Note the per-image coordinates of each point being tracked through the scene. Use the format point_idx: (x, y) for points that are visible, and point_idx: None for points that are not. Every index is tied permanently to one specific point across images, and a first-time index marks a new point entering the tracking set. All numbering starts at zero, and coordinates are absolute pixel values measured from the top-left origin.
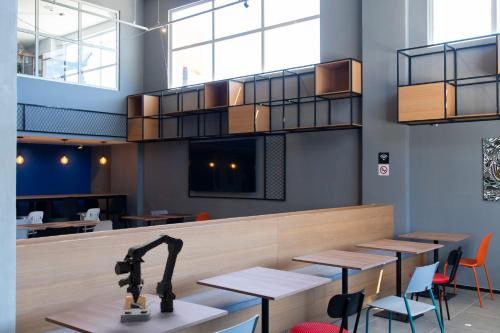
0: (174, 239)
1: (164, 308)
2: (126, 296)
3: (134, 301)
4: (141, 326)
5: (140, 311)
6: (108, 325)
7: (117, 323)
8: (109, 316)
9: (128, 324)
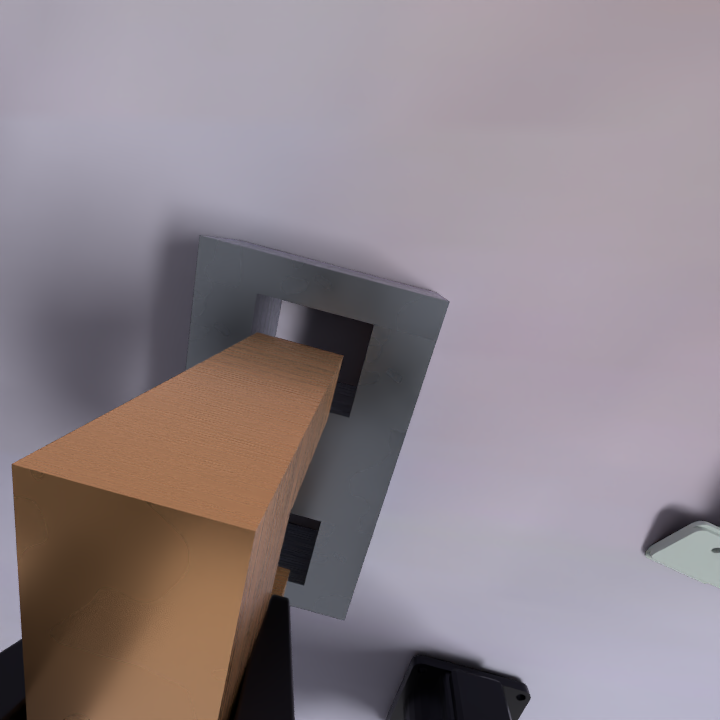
0: None
1: (419, 716)
2: (207, 534)
3: None
4: (22, 433)
5: (313, 514)
6: (104, 59)
7: (166, 193)
8: (548, 79)
9: (103, 321)
